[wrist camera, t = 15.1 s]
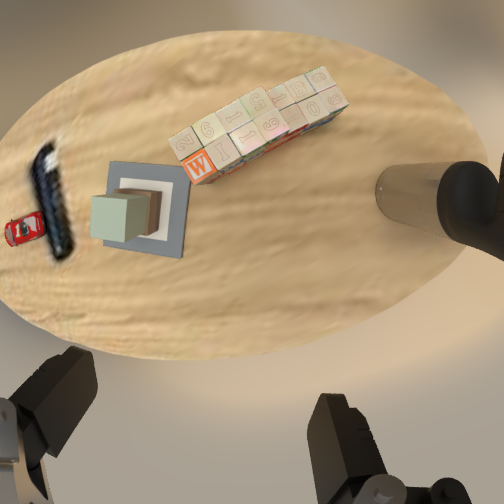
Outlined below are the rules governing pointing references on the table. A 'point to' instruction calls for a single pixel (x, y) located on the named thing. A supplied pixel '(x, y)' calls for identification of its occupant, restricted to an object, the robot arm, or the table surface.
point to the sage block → (118, 216)
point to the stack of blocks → (256, 125)
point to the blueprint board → (175, 211)
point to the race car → (25, 228)
